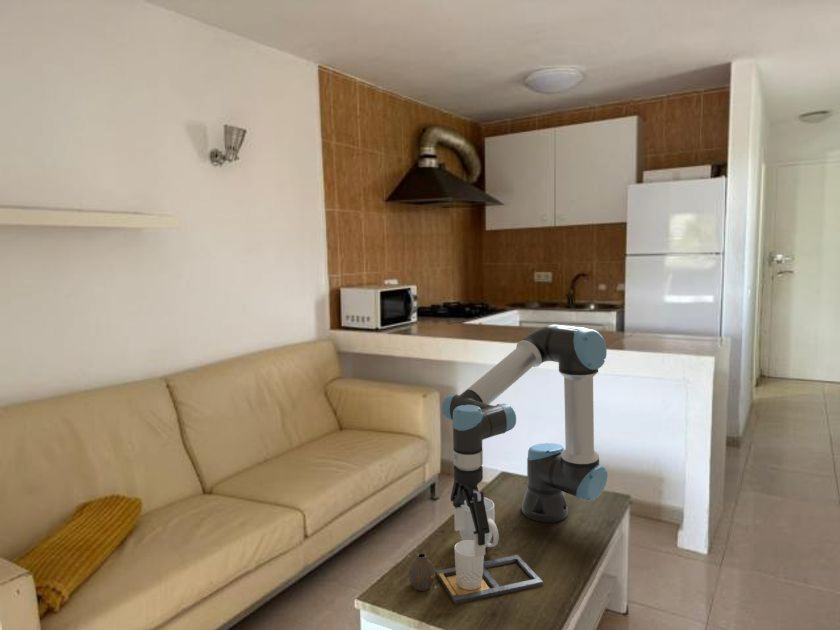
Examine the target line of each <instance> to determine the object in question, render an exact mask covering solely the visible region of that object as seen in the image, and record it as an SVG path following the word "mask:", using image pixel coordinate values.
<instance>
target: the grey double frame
mask: <svg viewBox="0 0 840 630" xmlns="http://www.w3.org/2000/svg"><path fill="white" fill-rule="evenodd" d="M513 563H517V564H518V565H519V566H520V567H521V568H522V569H523V571H524V572H525V573H526V574H527V575H528V576H529V577H530V578H531V579H528V580H524V581H519V582H515V583H510V584H505V585H499V584H498V582H497V581H496V580H495V579H494V577H493V576H492V575H491V574H490V572H489V571H488V570H487V569H488V568H493V567H498V566H503V565H508V564H509V565H510V564H513ZM435 572H436V573H435V576H437V578H438V580H439V581H440V583H441V584H442V586H443V588H444V589H445V591H446V592H447V594H448V596H449V597H450V599H451V600H452V601H453V604H455V605H458V604H459V605H460V604H463V603H468V602H473V601H477V600H482V599H486V598H490V597H495V596H499V595H503V594H508V593H513V592H518V591H522V590H526V589H531V588H536V587H541V586H543V585H544V581H543V580H542V579H541V578H540V576H538V575H537V574H536V572H534V571H533V569H532V568H531V567H530V566H529V565H528V564H527V563H526V562H525V561H524V560H523V559H522V557H521V556H519V554H514V555H509V556H504V557H500V558H495V559H490V560H484V562H483V574H482V585H481V586H480V587H479V588H477V589H475V590H466V589H462V588H461V587H459V586H458V584H457V581H456V569H455V566H453V567H449V568H444V569H443V568H442V569H438V570H435ZM484 579H485V580H484ZM487 583H488V584H487ZM488 585H489V586H488Z"/></svg>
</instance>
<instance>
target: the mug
mask: <svg viewBox="0 0 840 630" xmlns="http://www.w3.org/2000/svg"><path fill="white" fill-rule="evenodd" d="M472 502H473V501H472ZM464 503H465V505H461V506H464V520H465V529H464V530H459V536H460V538H461V541H464V540H473V541H474V533H473V532H474V531H476V530H475V526H474V522H473V519H472V515H471V511H470V508H469V507H468V506H467V503H466V500H465V501H464ZM484 504H485V509H486V515H487V520H488V525H489V530H490V532H489V533H486V534H485V549H486V548H487V547H488V548H495V547H496V546H497V545H498V544H499V543H498V542H499V539H500V538H499V537H500V536H499V530H498V527H497V524H496V523H495V519H496V518H495V517H496V516H495V503H494V501H493V500H492V499H489V498H487V497H485V496H484ZM492 539H493V541H492ZM491 541H492V543H491Z"/></svg>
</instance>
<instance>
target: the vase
mask: <svg viewBox="0 0 840 630" xmlns="http://www.w3.org/2000/svg"><path fill="white" fill-rule="evenodd" d="M435 572H436V570H435V568H434V564H433V562H432V561H431V560H430V559H429V558H428V556H427V554H426V553H424V552H419V553H417V554H416V557H415V558H414V559H413V561H412V562H411V563H410V566H409V569H408V579H409V583H410V585H411V586H412V587H413V588H414V589H415V590H417V591H420V592H424V591H427V590H428V589H430V587H432V586H433V584H434V581H435V577H436V573H435Z"/></svg>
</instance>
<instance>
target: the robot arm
mask: <svg viewBox="0 0 840 630" xmlns="http://www.w3.org/2000/svg"><path fill="white" fill-rule="evenodd" d="M606 358H607V344H606V341H605V338H604V337H603V335H602V334H601V333H600V332H599V331H597V330H595V329H590V328H587V327H580V326H571V325H561V324H549V325H545V326H542V327H540V328H537V329H536V330H534V331H532V332H531V333H528V334H527V335H526V336H525V337H523V338H522V339H520V341H518V342H517V344H516V348H514V350H512V351H511V352H510V353H509V354H508V355H506V356H505V357H504V358H502V359H501V360H500V361H499V362H498V363H497V364H495V365H494V366H492V368H491V369H490V370H489V371H487V372H486V373H485V374H484V375H482V376H481V377H480V378H478V380H476V381H475V382H473V384H471V385H470V386H469V387H468V388H467V389H465V390H464V391H463V392H461V394H455V393H454V394H450V395H447V396H446V397H445V398H444V399H443V401H442V404H441V411H442V412H441V413H442V415H443V416H444V418H445V419H446V420H449V421H451V425H452V445H453V446H452V448H453V449H452V450H453V454H452V456H451V458H452V459H453V465H454V466H453V480H454V481H453V485H452V489H451V494H450V501H451V502H452V505H453V507H454V508H453V515H454V516H453V517H454V518H453V519H454V524H453V525H454V531H455V532H458V531H459V530H464V529H465V520H464V506H461V505H465V503H464V501H465V500H466V503H467V506H468V507H469V508H470V511H471V515H472V519H473V522H474V526H475V530H476V531H474V532H473V533H474V555H475V557H478V556H482V555H484V556H485V555H486V548H485V534H486V533H489V532H490V530H489V525H488V520H487V515H486V509H485V504H484V497H485V496H484V492H483V491H479V488H478V485H479V484H480V483H481V482H482V481H483V479H484V478H483V477H484V474H483V471H484V470H483V468H484V467H483V463H484V461H483V460H484V458H483V451H484V449H483V440H486V439H490V438H493V437H495V436H498V435H501V434H505V433H507V432H509V431H511V430H513V429H514V428H515V427H516V424H517V415H516V411H515V410H514V408H513V407H512V406H511V405H509V404H507V403H498V404H496V405H492V403H493V402H494V401H495V400H496V399H497V398H499V396H500V395H502V394H503V393H504V392H505V391H507V389H509V388H510V387H511V386H512V385H513V384H515V383H516V382H517V381H518V380H519V379H520V378H521V377H523V376H524V375H525V374H526V373H527V372H528V371H530V369H532V368H537V367H540V365H541V364H543V363H545V362H554V363H558V372H559V373H560V374H561V375H562V376H563V382H564V383H563V385H564V388H563V389H564V390H563V391H564V393H563V394H564V435H565V437H564V438H565V439H564V440H565V444H564V445H565V448H564V447H563V445H562V444H560V443H553V442H543V443H538V444H535V445H532V446H530V447H529V449H528V451H527V458H526V462H527V463H526V464H527V466H526V467H527V468H526V471H527V472H526V475H527V481H526V482H527V483H526V484H527V485H526V487H527V488H526V491H525V493H524V496H523V500H522V502H521V513H522V514H523V515H524V516H525V517H526V518H528V519H531V520H533V521H537V522H541V523H542V522H543V523H556V522H560V521H563V520H564V519H566V518H567V517H568V512H569V511H568V505H567V501H566V498H565V494H568V495H571V496H574V497H576V498H577V499H581V500H584V501H587V502H591V501H594V500H596V499H598V497H600V496H601V494H602V493H603V491H604V490H605V487H606V485H607V481H608V470H607V468H606V466H604V465H602V464H600V455H599V453H598V452H597V451H595V436H594V435H595V434H594V432H595V430H594V428H595V427H594V426H595V425H594V416H595V415H594V377H595V376H596V375H597V374H598V373H599V369H600V368H601V367H603V365H604V364H605V362H606V361H605V360H606ZM564 493H565V494H564ZM472 501H473V502H472Z"/></svg>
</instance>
